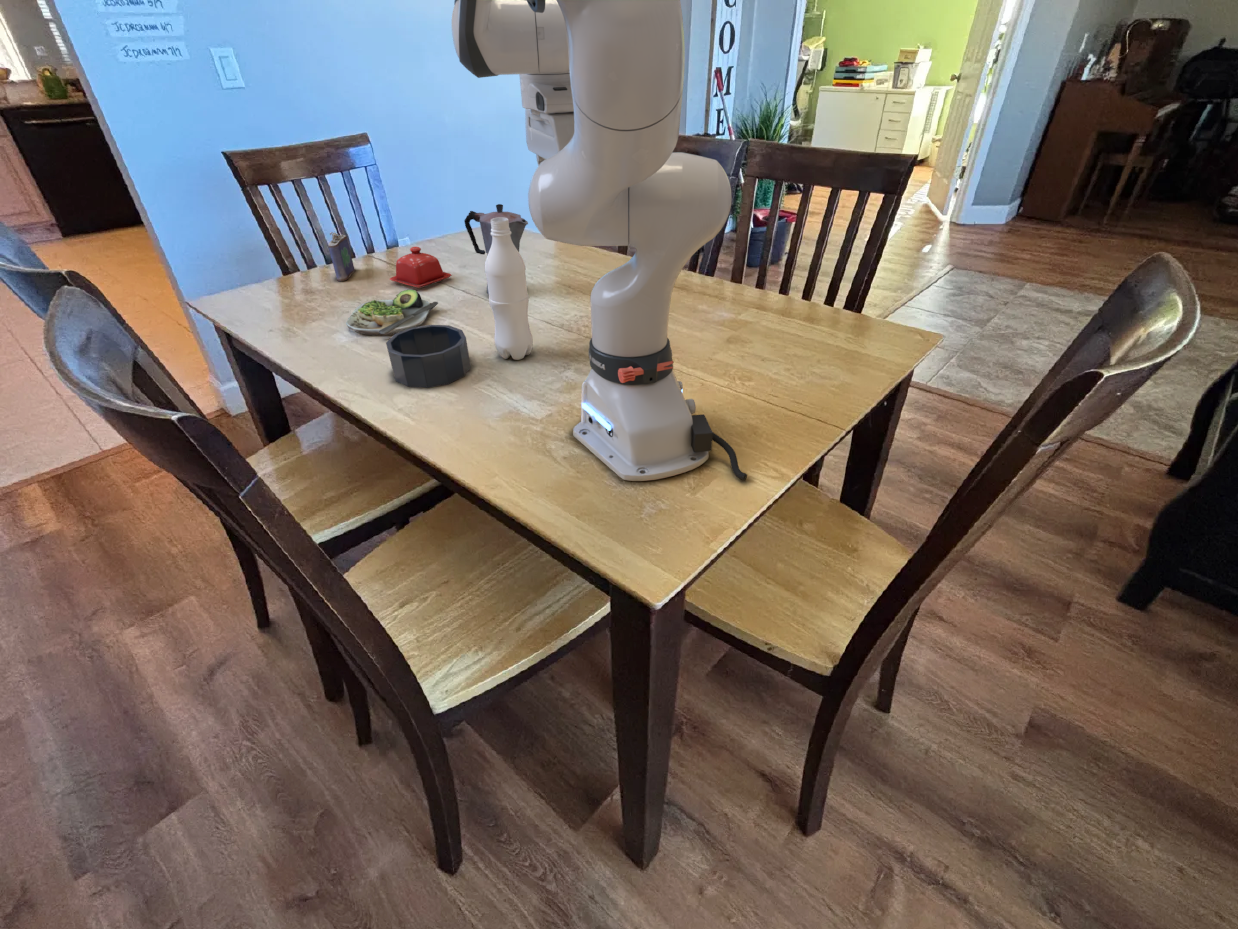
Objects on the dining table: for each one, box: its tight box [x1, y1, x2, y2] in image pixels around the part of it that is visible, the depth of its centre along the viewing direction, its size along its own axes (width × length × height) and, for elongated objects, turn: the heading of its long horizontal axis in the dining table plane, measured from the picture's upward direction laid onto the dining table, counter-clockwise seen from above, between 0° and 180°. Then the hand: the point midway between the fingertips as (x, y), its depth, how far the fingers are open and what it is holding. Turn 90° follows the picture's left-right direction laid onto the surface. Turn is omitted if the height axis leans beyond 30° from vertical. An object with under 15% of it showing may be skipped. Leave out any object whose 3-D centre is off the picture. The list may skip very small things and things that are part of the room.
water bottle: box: [484, 217, 534, 361], centre depth 113 cm, size 7×7×25 cm
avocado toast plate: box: [345, 289, 439, 336], centre depth 132 cm, size 19×18×5 cm
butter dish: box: [389, 246, 452, 289], centre depth 152 cm, size 12×12×8 cm
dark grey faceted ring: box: [385, 324, 472, 389], centre depth 114 cm, size 14×14×6 cm
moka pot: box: [463, 203, 529, 296], centre depth 142 cm, size 10×15×20 cm, turn 78°
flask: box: [327, 231, 356, 282], centre depth 156 cm, size 9×3×11 cm, turn 2°
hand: (555, 188), depth 106 cm, fingers open, 8 cm apart
